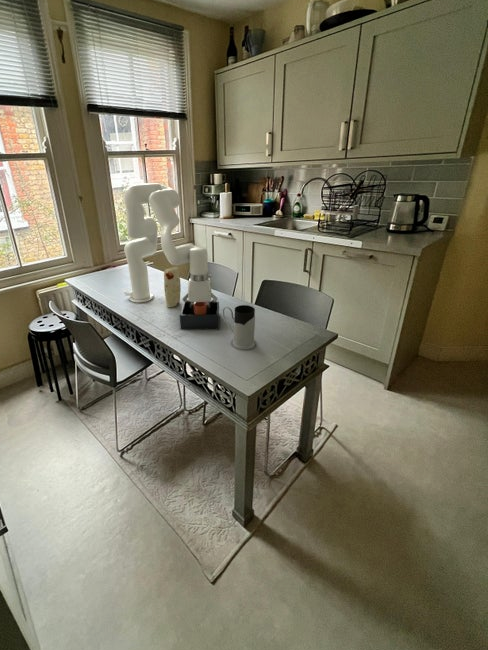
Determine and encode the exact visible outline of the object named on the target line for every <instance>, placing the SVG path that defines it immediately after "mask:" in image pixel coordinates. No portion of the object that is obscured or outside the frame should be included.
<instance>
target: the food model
mask: <svg viewBox="0 0 488 650" xmlns="http://www.w3.org/2000/svg"><path fill="white" fill-rule="evenodd" d="M180 275H181V274H180V269H179V267H178V266H173V267H170V268H165V269H164V270H163V289H164V297H165V303H166V307H167V308H173V307H176V306H179V305H180V303H181V292H182V291H181V289H182V286H181V276H180Z"/></svg>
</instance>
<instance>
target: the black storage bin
mask: <svg viewBox="0 0 488 650" xmlns="http://www.w3.org/2000/svg"><path fill="white" fill-rule="evenodd" d="M211 301H212V300H211ZM211 301H210V302H211ZM194 303H195V302H194ZM194 303H193V304H194ZM179 323H180V324H179V326H180V330H220V301H218V300H217V301H216V302H215V303H214V304H213V305H212V306H211V307H210V313H209V315H192V313H191V311H190V307H189V306H188V305H187V304H186V303H185V302H184V301H183V302H182V306H181V309H180V313H179Z"/></svg>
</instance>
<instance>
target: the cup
mask: <svg viewBox="0 0 488 650" xmlns="http://www.w3.org/2000/svg"><path fill="white" fill-rule="evenodd" d="M193 308H194V315H207V304H206V302H195V303H194V304H193Z"/></svg>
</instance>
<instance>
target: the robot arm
mask: <svg viewBox="0 0 488 650" xmlns="http://www.w3.org/2000/svg"><path fill="white" fill-rule="evenodd" d="M123 202H124V205H125V210H126V214H125V215H126V233H127V236H128V238H129V239H132V240H130V241H128V242H127V243H125V245H124V248H123V251H124V255H125V258H126V261H127V267H128V273H129V282H130V288H131V290H124V295H125V296H126V297H127V296H129V301H131V303H139V304H140V303H146V302H149V301H151V300H153V298H154V295H153V293H151V292H150V281H149V273H148V266H147V263H146V262H145V260H144V258H146V257H150V256H153V255H155V254H156V252H157V251H158V232H159V230H158V224H157V222H158V223H159V226H160V227H161V233H160V246H161V250H162V252H163V254H164V257H166V260H167V261H168V262H169V263H170V264H171V265H172V266H174V267H178V266H181V265H185V264H187V263H189V279H188V286H187V294H185V295H184V296H183V297H182V301H183V302H185V303H186V304H187V305H188V306H189V307H190V311H191V313H192V315H194V308H193V303H194V302H206V304H207V315H209V313H210V307H211V306H212V305H213V304H214V303H215V302H216V301H218V297H217V296H216V295H215V294H214V293H213V292H212V284H211V283H212V282H211V279H210V278H212V273H209V266H208V265H209V261H208V249H207V248H206V247H203V246H197V245H195V244H194V243H187V244H181V245H179V246H175V244H174V241H173V238H172V232H173V230H174V229H175V228H176V227H178V226H179V224H180V221H181V220H180V218H179V216H178V214H177V211H176V210H175V209H176V208H178V207H179V206H180V203H181V198H180V195H179V193H178V191H177V190H175V189H174V188H172V187H169V186H167V185H164V184H161V183H159V182H150V183H139V184H134V185H130V186H128V187H126V189H125V190H124V193H123ZM143 204H149V205H150V207H151V209H152V211H153V214H154V216H155V218H156V220H157V221H156V220H155V219H154V217H152V216H145V208H144V207H143ZM210 301H211V302H210Z"/></svg>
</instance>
